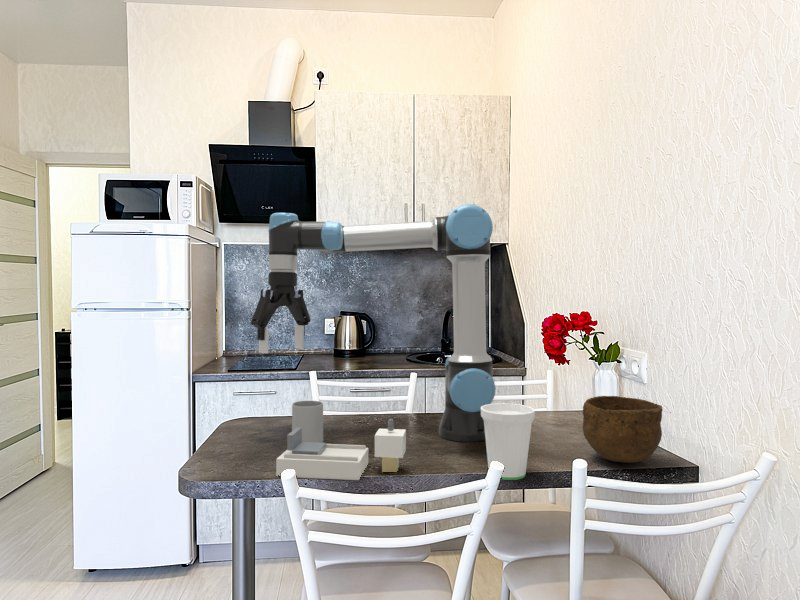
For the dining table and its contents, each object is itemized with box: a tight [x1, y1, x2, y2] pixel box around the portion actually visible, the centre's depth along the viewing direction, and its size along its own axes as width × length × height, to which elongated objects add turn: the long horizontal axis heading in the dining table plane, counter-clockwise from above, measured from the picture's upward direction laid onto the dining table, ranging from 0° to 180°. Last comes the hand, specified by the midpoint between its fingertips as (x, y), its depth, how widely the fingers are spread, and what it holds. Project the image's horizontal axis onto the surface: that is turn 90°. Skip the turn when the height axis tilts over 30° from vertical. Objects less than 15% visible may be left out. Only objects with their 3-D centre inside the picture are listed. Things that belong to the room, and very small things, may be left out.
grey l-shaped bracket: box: [286, 427, 327, 455], centre depth 137 cm, size 7×8×5 cm
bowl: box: [582, 395, 664, 464], centre depth 144 cm, size 19×19×15 cm
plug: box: [374, 418, 407, 473], centre depth 136 cm, size 6×6×12 cm
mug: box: [291, 400, 324, 443], centre depth 161 cm, size 12×8×11 cm
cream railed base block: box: [275, 443, 369, 481], centre depth 136 cm, size 19×12×5 cm, turn 83°
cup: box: [481, 402, 536, 481], centre depth 134 cm, size 12×12×15 cm
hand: (281, 350), depth 156 cm, fingers open, 13 cm apart
